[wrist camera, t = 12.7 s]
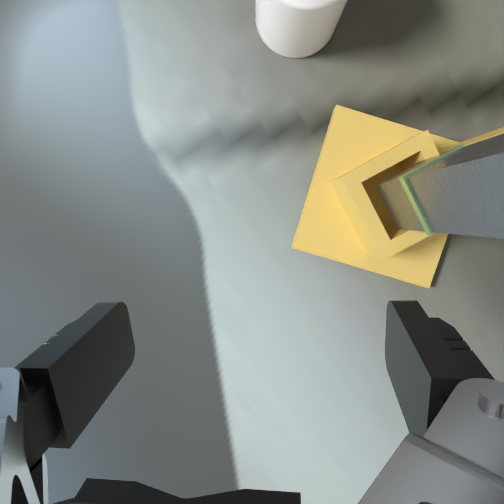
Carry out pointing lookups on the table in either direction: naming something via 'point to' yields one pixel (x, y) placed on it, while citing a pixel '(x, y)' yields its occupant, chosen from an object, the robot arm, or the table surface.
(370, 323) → the table surface
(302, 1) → the pill bottle
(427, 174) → the column
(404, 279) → the stand base
